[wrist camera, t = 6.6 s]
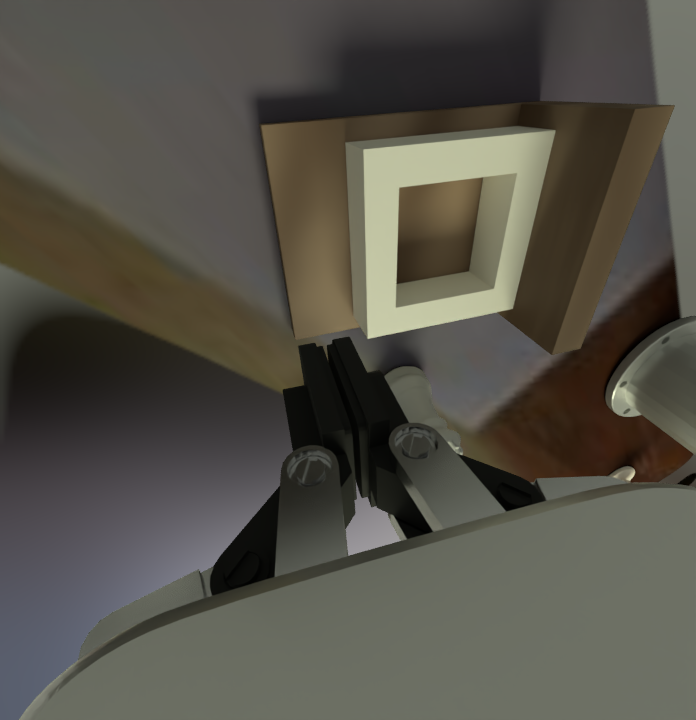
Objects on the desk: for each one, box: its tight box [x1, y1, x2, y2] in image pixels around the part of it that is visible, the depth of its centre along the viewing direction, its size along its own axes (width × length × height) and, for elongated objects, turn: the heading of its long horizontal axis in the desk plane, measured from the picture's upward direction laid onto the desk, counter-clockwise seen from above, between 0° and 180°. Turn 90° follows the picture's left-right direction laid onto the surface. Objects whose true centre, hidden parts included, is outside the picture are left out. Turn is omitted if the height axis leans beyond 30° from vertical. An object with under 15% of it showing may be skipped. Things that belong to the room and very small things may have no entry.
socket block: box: [345, 126, 556, 339], centre depth 22 cm, size 10×10×3 cm
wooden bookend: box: [259, 101, 674, 355], centre depth 20 cm, size 16×12×8 cm
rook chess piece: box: [384, 366, 463, 455], centre depth 28 cm, size 4×4×8 cm
